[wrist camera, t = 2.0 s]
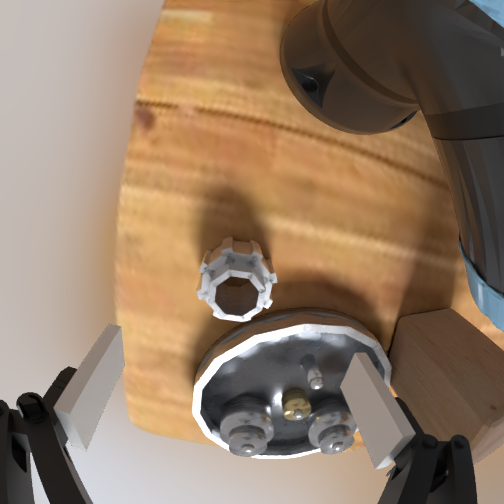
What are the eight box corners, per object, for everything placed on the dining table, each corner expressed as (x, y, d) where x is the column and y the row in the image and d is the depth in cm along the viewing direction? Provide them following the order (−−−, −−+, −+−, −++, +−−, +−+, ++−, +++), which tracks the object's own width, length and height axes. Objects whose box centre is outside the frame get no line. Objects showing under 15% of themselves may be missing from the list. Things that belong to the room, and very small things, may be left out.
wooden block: (396, 313, 31) (495, 423, 12) (451, 304, 31) (545, 384, 12) (380, 374, 34) (444, 483, 15) (433, 361, 34) (502, 447, 15)
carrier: (203, 293, 29) (192, 337, 21) (407, 314, 31) (442, 348, 23) (191, 435, 35) (186, 477, 28) (343, 438, 38) (356, 474, 30)
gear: (206, 232, 27) (198, 249, 21) (276, 242, 28) (287, 262, 22) (198, 296, 29) (190, 326, 23) (263, 305, 29) (270, 336, 24)
